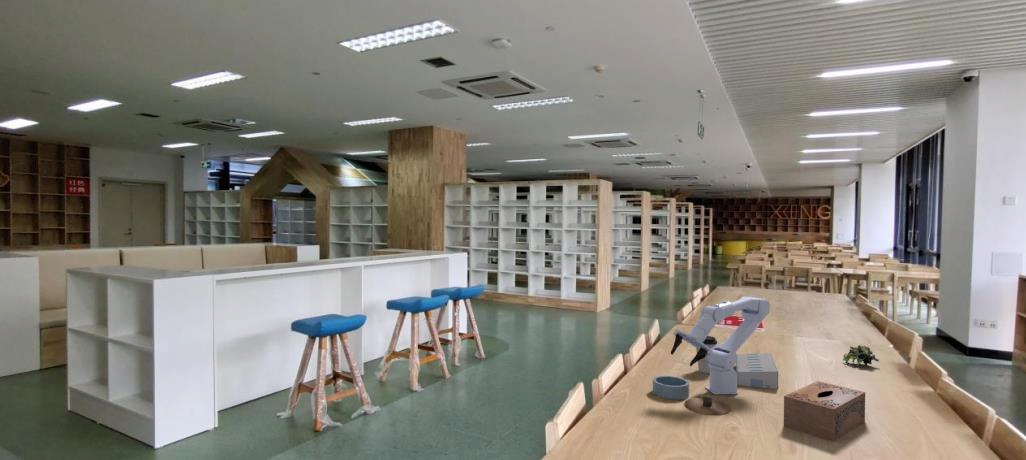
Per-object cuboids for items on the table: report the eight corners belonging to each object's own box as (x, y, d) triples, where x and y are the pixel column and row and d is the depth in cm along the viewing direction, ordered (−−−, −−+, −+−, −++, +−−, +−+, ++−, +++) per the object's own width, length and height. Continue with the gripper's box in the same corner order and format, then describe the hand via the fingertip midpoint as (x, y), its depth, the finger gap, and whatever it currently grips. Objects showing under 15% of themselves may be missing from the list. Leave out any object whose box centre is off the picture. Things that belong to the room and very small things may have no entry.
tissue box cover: (833, 442, 150) (834, 409, 149) (783, 426, 161) (784, 396, 161) (864, 422, 165) (865, 392, 165) (817, 409, 177) (817, 381, 177)
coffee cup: (719, 375, 215) (719, 340, 215) (695, 373, 217) (696, 339, 216) (714, 369, 224) (715, 335, 224) (692, 367, 226) (693, 334, 226)
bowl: (680, 388, 198) (681, 375, 198) (694, 399, 185) (694, 386, 185) (648, 388, 197) (648, 375, 197) (659, 400, 184) (660, 386, 184)
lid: (718, 400, 185) (718, 389, 185) (738, 415, 170) (738, 404, 170) (678, 400, 185) (678, 389, 185) (695, 416, 170) (695, 404, 170)
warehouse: (735, 366, 230) (735, 349, 230) (770, 370, 224) (770, 353, 224) (737, 385, 202) (738, 367, 202) (777, 390, 197) (778, 371, 197)
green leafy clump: (864, 376, 233) (884, 358, 228) (856, 376, 226) (876, 357, 222) (843, 358, 241) (861, 340, 236) (835, 357, 234) (853, 338, 230)
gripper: (683, 316, 189) (663, 343, 185) (719, 337, 181) (700, 365, 177) (682, 325, 195) (663, 351, 190) (717, 345, 187) (698, 373, 182)
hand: (680, 359), depth 184 cm, fingers open, 7 cm apart
